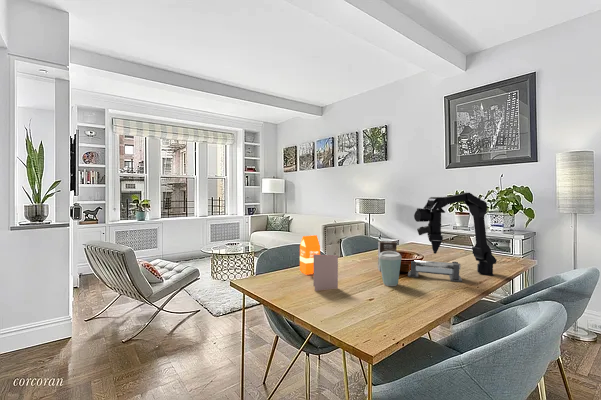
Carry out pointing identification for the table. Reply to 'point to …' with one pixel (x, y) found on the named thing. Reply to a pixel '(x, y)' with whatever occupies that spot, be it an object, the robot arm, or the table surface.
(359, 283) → the table surface
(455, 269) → the dark grey notched cradle
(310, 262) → the orange juice
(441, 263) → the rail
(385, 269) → the disposable coffee cup
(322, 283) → the greeting card
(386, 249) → the coffee box
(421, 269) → the grey plate
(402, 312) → the table surface
